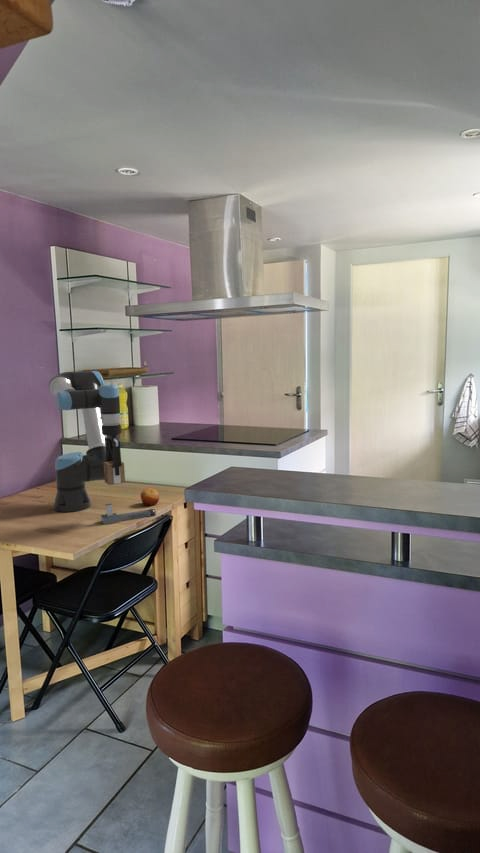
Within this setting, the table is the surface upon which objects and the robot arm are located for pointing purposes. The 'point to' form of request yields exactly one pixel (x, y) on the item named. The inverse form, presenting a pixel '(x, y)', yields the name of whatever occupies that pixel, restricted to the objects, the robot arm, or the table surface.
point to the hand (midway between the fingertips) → (114, 481)
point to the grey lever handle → (124, 515)
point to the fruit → (149, 496)
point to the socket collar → (109, 473)
